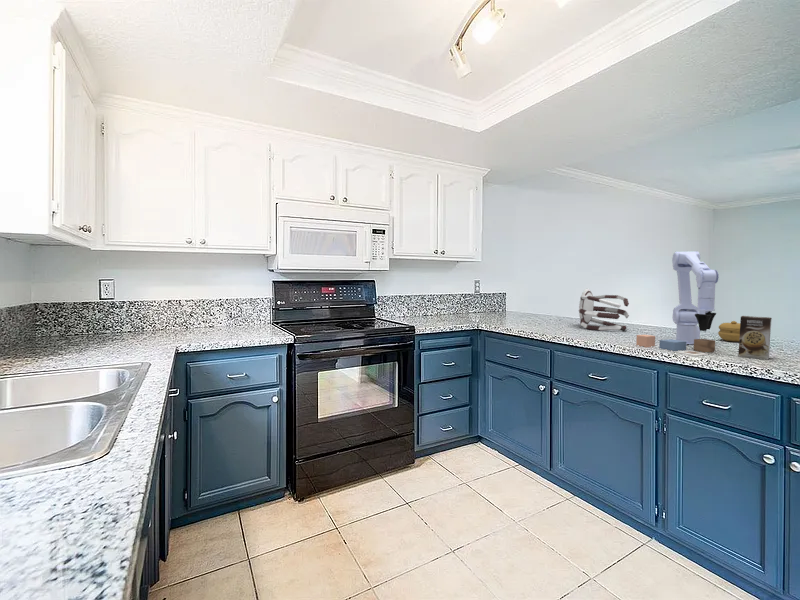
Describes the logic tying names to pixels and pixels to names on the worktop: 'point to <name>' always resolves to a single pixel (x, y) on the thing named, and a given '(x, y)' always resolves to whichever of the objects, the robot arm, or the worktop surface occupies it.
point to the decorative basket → (588, 307)
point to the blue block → (672, 345)
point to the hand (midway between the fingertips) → (704, 329)
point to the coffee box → (754, 337)
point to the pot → (730, 331)
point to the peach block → (645, 340)
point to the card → (692, 353)
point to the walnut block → (704, 345)
